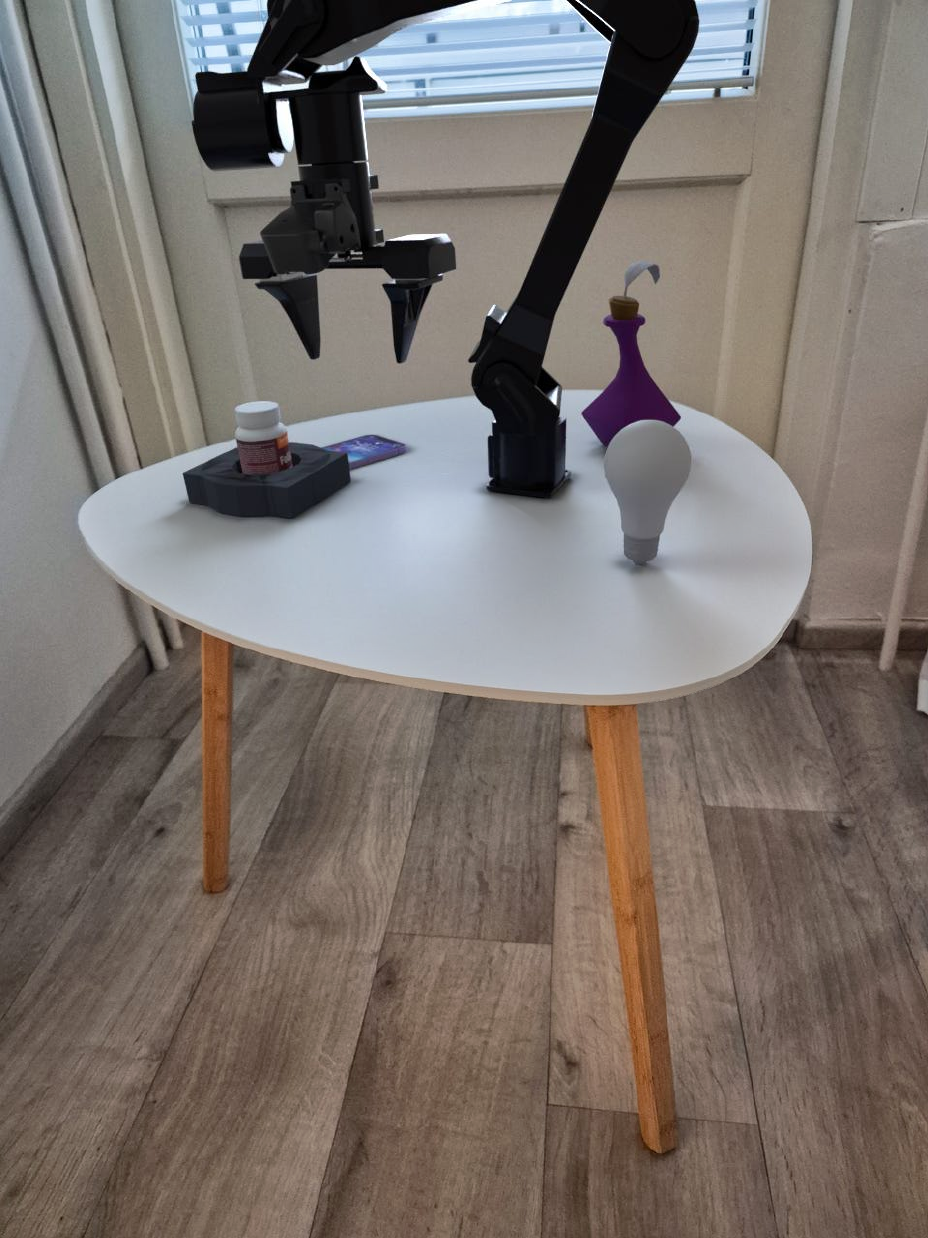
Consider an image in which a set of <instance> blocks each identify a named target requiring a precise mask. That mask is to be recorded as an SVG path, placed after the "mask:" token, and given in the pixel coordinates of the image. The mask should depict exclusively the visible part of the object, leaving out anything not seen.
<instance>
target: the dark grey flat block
mask: <svg viewBox="0 0 928 1238" xmlns="http://www.w3.org/2000/svg"><path fill="white" fill-rule="evenodd" d="M289 448H290V454H291V460H292V468H290V469H287V470H283V471H280V472H276V473H269V474H256V475H250V474H243V473H242V468H241V463H240V457H239V452H238V447H237V446H236V447H234V448H231V449H230V450H228V451H225V452H223V453H220V454H219V455H216V456H215V457H212V458H210V459H208V460H207V461H204V462H203V463H201V464H198V465H196V466H194V467H192V468H190V469H188V470H186V471H184V472H183V473H182V477H183V481H184V485H185V490H186V495H187V498H188V503H190V504H197V505H202V506H207V507H209V508H211V509H212V510H214V511H216V512H218V513H220V514H223V515H229V516H235V517H243V518H245V517H270V516H271V517H277V518H284V519H290V520H293V519H295V518H296V517H299V515H301V514H302V513H304V512H305V511H307V510H309V509H310V508H312V507H313V506H315V505H318V504H319V503H321V502H322V501H324V500H325V499H327V498H328V497H330V496H331V495H333V493H335V492H337V491H338V490H339V489H341V488H343V487H344V486H346V485H348V484H349V483H351V481H352V479H351V471H350V470H351V469H349V462H348V453H346V452H337V451H329V450H326V449H323V448H322V446H318V445H315V444H311V443H304V442H303V443H302V442H294V441H289Z"/></svg>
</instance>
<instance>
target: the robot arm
mask: <svg viewBox="0 0 928 1238" xmlns="http://www.w3.org/2000/svg"><path fill="white" fill-rule="evenodd" d="M511 1H512V0H267V1H266V11H267V12H266V13H267V19H266V21H265V24H264V25H263V29H262V31H261V33H260V36H259V39H258V41H257V44H256V46H255V47H254V50H253V54H252V56H251V59H250V61H249V64H248V66H247V68H246V70H243V71H232V72H217V71H211V70H206V71H197V72H195V75H194V78H195V83H196V89H197V91H196V93H195V95H194V99H193V105H192V106H193V107H192V114H193V119H192V120H191V128H192V133H193V137H194V141H195V145H196V147H197V150H198V153H199V155H200V158H201V159H202V161H203V163H204V164H205V166H206V167H207V168H208V169H209V170H210V171H212V172H229V171H243V170H259V169H273V168H280V167H281V166H282V165H283V163H284V160H285V156H286V154H290V153H291V152H292V150H293V147H295V155H296V161H297V162H296V163H297V169H298V176H299V180H291V181H290V188H289V195H290V206H289V207H288V208H286V209H283V210H282V211H281V212H279V213H278V214H277V215H276V216H275V217H274V218H273V219H272V220H271V221H270V222H268V224H266V226H265V227H264V228H262V229H261V231H260V232H259V236H260V238H261V240H257V241H252V242H245V243H243V244H242V248H241V250H240V253H239V256H238V263H239V268H240V273H241V274H240V275H241V278H242V280H259V281H257V282H254V285H255V287H256V289H258V290H264V291H265V292H267V293H268V294H269V295H271V296H272V297H273V298H275V300H277V301H278V302H279V304H280V305H281V307H282V308H283V310H284V311H285V313H286V316H288V318H289V320H290V322H291V324H292V326H293V328H294V330H295V332H296V334H297V335H298V339H299V340H300V342H301V344H302V345H303V347H304V350H305V351H306V354H307V356H308V357H309V359H310V360H313V361H315V360H317V359H319V358H320V357H321V340H322V339H321V323H320V306H319V287H318V274H319V273H321V272H323V271H324V270H361V269H362V270H363V269H364V270H365V269H368V270H371V269H373V270H374V269H375V270H376V269H377V270H378V269H382V270H383V271H384V272H385V273H386V274H387V275H388V276H389V277H390V278H391V279H392V280H390V281H387V282H384V283H381V286H382V289H383V290H384V293H385V294H386V296H387V298H388V300H389V303H390V314H391V328H392V340H393V341H392V342H393V350H394V355H395V360H396V363H397V364H401V365H402V364H403V363H406V361H407V360H408V359H407V358H408V356H409V352H410V349H411V345H412V343H413V340H414V336H415V333H416V329H417V327H418V324H419V320H420V317H421V313H422V312H423V309H424V306H425V304H426V301H427V300H428V297H429V295H430V293H431V290H432V288H433V285H434V284H437V283H440V282H442V281H444V276H443V275H444V274H446V273H448V272H449V273H450V272H452V271H455V270H457V258H456V246H455V245H454V244H453V241H452V240H451V238H450V237H449V236H448V234H447V233H436V234H435V233H433V234H431V233H429V234H408V235H404V236H400V237H395V238H391V239H386V240H385V237H384V229H381V228H380V229H376V223H375V214H374V204H373V203H374V202H373V195H372V190H378V189H380V185H379V175H378V174H374V175H371V174H370V166H369V165H370V164H369V155H368V147H367V145H368V144H367V136H366V125H365V117H364V107H363V99H362V98H363V97H362V96H369V95H371V96H373V95H383V94H385V93H386V92H387V89H388V87H387V83H385V82H384V81H383V80H382V79H380V78H379V77H378V76H377V75H376V74H375V73H374V72H373V70H372V69H371V68H370V67H369V65H368V62H367V61H366V59H365V58H363V57H360V56H357V55H360V54H362V53H364V52H366V51H368V50H370V49H371V48H373V47H375V46H377V45H378V44H380V43H381V42H382V41H385V40H386V39H387V38H389V37H390V36H392V35H394V34H396V33H398V32H400V31H402V30H403V29H405V28H408V27H411V26H412V27H413V26H416V25H420V24H423V23H427V22H431V21H436V20H441V19H443V18H447V17H451V16H455V15H460V14H463V13H467V12H471V11H475V10H479V9H482V8H486V7H490V6H495V5H499V4H502V3H506V2H511ZM564 1H565V2H566V3H567V4H568V5H569V6H570V7H571V8H572V9H573V10H575V12H577V13H578V15H580V17H582V19H583V20H584V21H586V22H587V23H588V24H589V25H590V27H592V28H593V29H594V30H595V31H596V32H597V33H598V34H599V35H600V36H602V37H603V38H604V39H605V40H606V41H607V42H608V43H609V48H608V51H607V55H606V60H605V63H604V67H603V71H602V74H601V80H600V82H599V87H598V91H597V94H596V98H595V103H594V107H593V110H592V115H591V118H590V121H589V124H588V126H587V129H586V132H585V133H584V135H583V139H582V141H581V144H580V146H579V148H578V150H577V153H576V155H575V158H574V160H573V163H572V165H571V168H570V170H569V172H568V175H567V177H566V180H565V182H564V184H563V187H562V189H561V191H560V193H559V196H558V198H557V200H556V203H555V205H554V208H553V209H552V213H551V215H550V218H549V220H548V223H547V224H546V227H545V230H544V232H543V234H542V237H541V238H540V242H539V243H538V246H537V248H536V251H535V253H534V256H533V258H532V261H531V263H530V266H529V268H528V270H527V272H526V275H525V277H524V280H523V282H522V284H521V287H520V289H519V291H518V293H517V294H516V296H515V298H514V299H513V300H512V302H511V303H510V305H509V307H508V308H507V310H506V311H505V310H503V309H502V308H500V307H499V306H498V305H496V304H493V305H492V306H491V308H490V309H489V311H488V313H487V315H486V317H485V319H484V324H483V327H482V332H481V337H480V340H478V341H477V342H476V345H475V346H474V348H473V350H472V352H471V353H470V355H469V357H468V359H467V363H469V364H473V363H474V366H473V368H472V372H471V377H470V383H471V387H472V390H473V393H474V396H475V397H476V399H477V401H479V403H480V404H481V405H482V406H484V407H485V408H487V409H488V410H490V411H491V413H492V416H493V418H494V419H493V420H492V421H491V433H490V434H489V435H488V436H487V467H488V468H487V469H488V472H487V473H488V476H489V478H490V481H488V482H487V483H486V484H485V487H486V488H485V489H486V490H487V491H493V492H498V493H499V492H500V493H508V494H515V495H522V496H532V497H539V498H551V497H553V495H555V494H556V492H557V491H558V490H559V489H560V488H561V487H562V486H563V485H564V484H565V483H566V482H567V480H568V479H570V477H572V470H570V469H566V458H567V457H566V455H567V454H566V453H567V452H566V451H567V417H565V416H560V415H561V407H562V394H563V386H562V385H561V383H559V381H557V379H556V378H554V376H553V375H552V374H550V372H549V371H548V370H547V369H546V368H544V367H543V364H544V361H545V356H546V352H547V348H548V345H549V340H550V336H551V332H552V328H553V325H554V321H555V318H556V314H557V311H558V309H559V307H560V305H561V302H562V300H563V298H564V296H565V294H566V292H567V290H568V287H569V285H570V283H571V280H572V278H573V276H574V274H575V271H576V269H577V268H578V265H579V263H580V260H581V258H582V256H583V253H584V251H585V250H586V247H587V245H588V243H589V241H590V238H591V236H592V235H593V234H592V233H593V231H594V230H595V227H596V225H597V223H598V220H599V219H600V216H601V214H602V211H603V210H604V207H605V205H606V202H607V200H608V198H609V196H610V193H611V192H612V189H613V187H614V184H615V183H616V180H617V178H618V176H619V174H620V171H621V169H622V167H623V164H624V162H625V160H626V158H627V156H628V153H629V151H630V150H631V146H632V145H633V142H634V141H635V139H636V137H637V136H638V134H639V133H640V131H641V130H642V129H643V127H644V125H645V124H646V123H647V122H648V119H649V118H650V116H651V115H652V114H653V112H654V110H655V109H656V107H657V106H658V104H659V103H660V102H661V100H662V99H663V97H664V95H666V93H667V91H668V89H669V88H670V86H671V85H672V83H673V82H674V80H675V78H676V77H677V75H678V74H679V72H680V71H681V69H682V68H683V66H684V65H685V63H686V62H687V60H688V58H689V57H690V55H691V53H692V51H693V50H694V48H695V44H696V42H697V38H698V34H699V30H700V16H699V11H698V7H697V3H696V0H564ZM351 58H352V60H351V62H350V64H349V65H348V67H347V68H346V69H341V70H340V69H339V70H328V71H319V70H320V69H321V68H322V67H323V66H336V65H339V64H341V63H344V62H346V61H347V60H350V59H351ZM306 83H308V85H307V87H305V88H298V89H297V88H296V89H287V90H283V88H282V85H285V86H288V85H301V84H306ZM352 251H353V252H352Z"/></svg>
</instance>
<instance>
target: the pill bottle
mask: <svg viewBox="0 0 928 1238" xmlns="http://www.w3.org/2000/svg"><path fill="white" fill-rule="evenodd" d="M279 406H280V405H279V403H277V402H274V401H267V400H266V401H263V400H262V401H260V400H259V401H251V402H246V403H242V404H239V405H237V406H236V407H235V408H234V415H235V421H236V425H237V426H238V427H237V428H236V429H235V432H234V438H235V442H236V447H238V452H239V457H240V463H241V468H242V473H243V474H250V475H256V474H269V473H276V472H280V471H283V470H287V469H290V468H292V460H291V454H290V448H289V442H290V441H289V435H288V430H287V427H286V426H285V424H284V423H283V422H280V421H281V418H282V417H281V416H282V415H281V411H280V407H279Z"/></svg>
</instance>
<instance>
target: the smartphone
mask: <svg viewBox="0 0 928 1238" xmlns="http://www.w3.org/2000/svg"><path fill="white" fill-rule="evenodd" d="M406 445H407V444H405V443H404V442H400V441H397V440H394V439H390V438H388V437H384V436H381V435H378V434H365V435H362V436H358V437H354V438H351V439H347V440H343V441H339V442H337V443H333V444H329V445H326V446H321V448H323V449H326V450H329V451H337V452H346V453H348V462H349V470H352V469H355V468H359V467H362V466H366V465H369V464H372V463H375V462H378V461H379V462H380V461H382V460H386V459H388V458H391V457H396V456H399V455H402V454H404V453H406V452H407V446H406Z"/></svg>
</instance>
